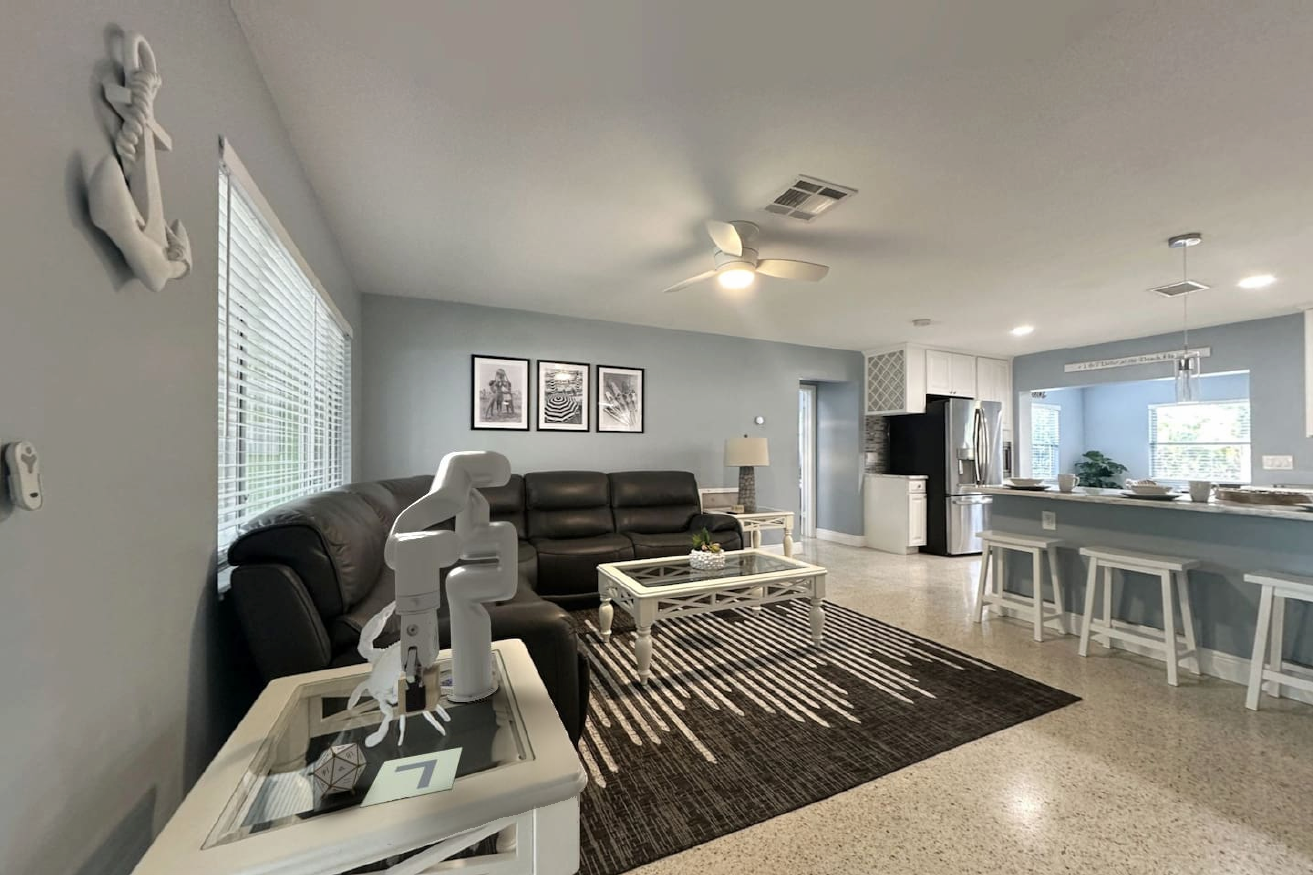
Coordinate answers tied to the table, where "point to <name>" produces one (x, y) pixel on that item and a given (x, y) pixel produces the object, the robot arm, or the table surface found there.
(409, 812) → the table surface
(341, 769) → the game die
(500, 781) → the table surface
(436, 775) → the letter card
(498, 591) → the robot arm
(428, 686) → the cube
